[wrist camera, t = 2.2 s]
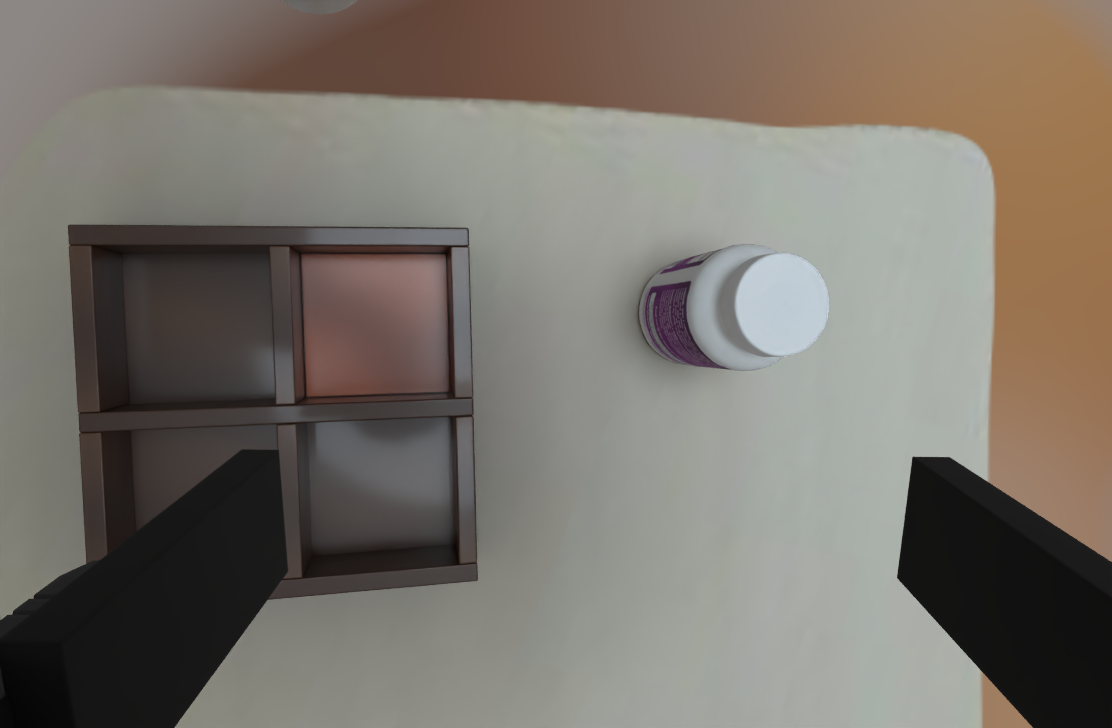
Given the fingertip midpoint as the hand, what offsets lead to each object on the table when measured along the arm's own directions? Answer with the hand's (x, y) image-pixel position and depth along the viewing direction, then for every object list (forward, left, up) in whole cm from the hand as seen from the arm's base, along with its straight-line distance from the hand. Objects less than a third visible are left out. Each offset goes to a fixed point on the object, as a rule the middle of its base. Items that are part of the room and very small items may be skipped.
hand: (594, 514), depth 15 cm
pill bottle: (-4, +10, -21) cm, 23 cm away
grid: (0, -9, -20) cm, 22 cm away
